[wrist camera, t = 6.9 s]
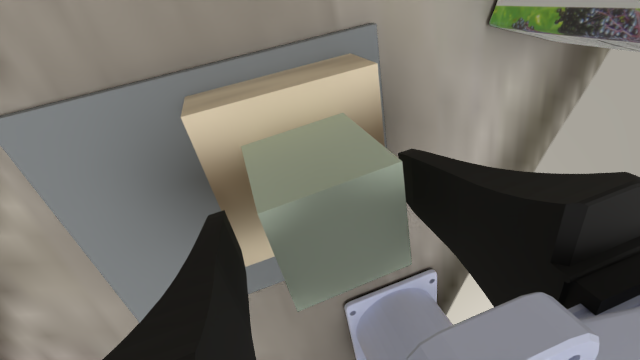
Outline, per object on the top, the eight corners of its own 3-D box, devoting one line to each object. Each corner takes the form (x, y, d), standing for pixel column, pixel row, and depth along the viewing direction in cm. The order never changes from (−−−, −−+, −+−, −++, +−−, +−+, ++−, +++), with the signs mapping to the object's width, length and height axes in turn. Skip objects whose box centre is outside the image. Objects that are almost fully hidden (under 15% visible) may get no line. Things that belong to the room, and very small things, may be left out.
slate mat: (390, 234, 23) (394, 239, 23) (148, 323, 21) (146, 331, 20) (371, 23, 16) (376, 23, 16) (-9, 118, 13) (-18, 122, 13)
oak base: (367, 187, 20) (390, 214, 18) (240, 231, 19) (245, 266, 16) (350, 53, 16) (377, 63, 13) (184, 96, 15) (180, 117, 12)
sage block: (358, 196, 16) (411, 264, 12) (272, 228, 16) (297, 312, 11) (342, 112, 14) (402, 161, 10) (240, 146, 13) (257, 213, 9)
